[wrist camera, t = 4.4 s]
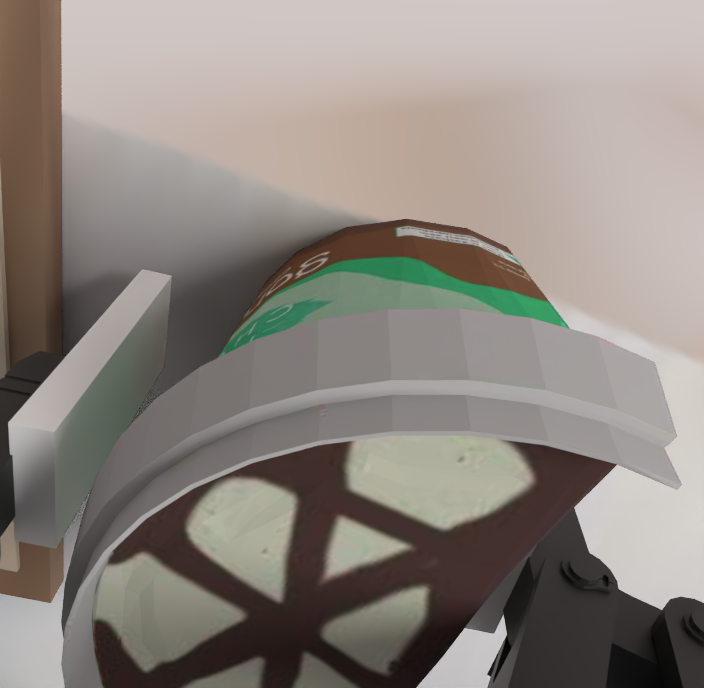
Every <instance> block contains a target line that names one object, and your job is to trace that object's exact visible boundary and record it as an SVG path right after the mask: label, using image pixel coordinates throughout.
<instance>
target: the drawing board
mask: <svg viewBox="0 0 704 688" xmlns="http://www.w3.org/2000/svg"><path fill="white" fill-rule="evenodd" d="M39 351H44V352H48V353H53V354H58V355H62V115H61V0H0V379H1V378H4V377H5V374H6V373H7V372H8V371H9V370H10V369H11V368H12V367H13V366H14V365H15V364H16V363H17V362H18V361H20V360H22V359H24V358H26V357H28V356H30V355H32V354H34V353H37V352H39ZM0 543H1V560H0V593H1V594H6V595H11V596H17V597H22V598H27V599H33V600H38V601H43V602H48V603H51V601H52V600H53V598H54V596H55V594H56V592H57V591H58V589H59V587H60V585H61V583H62V582H63V537H62V539H61V541H60V542H59V544H58V546H57V547H56V549H55V548H50V547H44V546H39V545H34V544H29V543H24V542H19V541H14V522H13V520H12V522H11V523H10V525H9V526H8V527H7V529H6V530H5V532H4V533H3V534H2V536H1V537H0Z"/></svg>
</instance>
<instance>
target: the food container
mask: <svg viewBox="0 0 704 688" xmlns="http://www.w3.org/2000/svg"><path fill="white" fill-rule="evenodd" d="M676 437H677V434H676V431H675V428H674V424H673V421H672V418H671V415H670V411H669V408H668V405H667V401H666V398H665V395H664V391H663V388H662V385H661V382H660V378H659V375H658V372H657V368H656V365H655V362H653V361H650V360H648V359H646V358H644V357H642V356H639V355H637V354H635V353H633V352H630V351H628V350H626V349H624V348H622V347H619V346H617V345H615V344H613V343H610V342H608V341H606V340H604V339H602V338H599V337H597V336H593V335H590V334H586V333H583V332H579V331H575V330H572V329H570V328H569V327H568V325H567V324H566V323H565V321H564V320H563V319H562V318H561V316H560V315H559V314H558V312H557V311H556V310H555V308H554V307H553V306H552V305H551V303H550V302H549V301H548V299H547V298H546V297H545V295H544V294H543V293H542V292H541V290H540V289H539V288H538V287H537V285H536V284H535V282H534V281H533V280H532V279H531V277H530V276H529V275H528V273H527V272H526V271H525V270H524V268H523V267H522V266H521V264H520V263H519V262H518V260H517V259H516V258H515V257H514V255H513V254H512V253H511V251H510V250H509V249H508V248H507V247H506V246H504V245H501V244H499V243H497V242H495V241H493V240H491V239H489V238H486V237H484V236H482V235H480V234H478V233H476V232H473V231H471V230H469V229H467V228H461V227H454V226H448V225H442V224H436V223H429V222H422V221H416V220H410V219H403V220H395V221H388V222H381V223H374V224H367V225H360V226H353V227H347V228H345V229H343V230H341V231H339V232H337V233H335V234H333V235H331V236H328V237H326V238H324V239H322V240H320V241H318V242H316V243H314V244H312V245H310V246H308V247H306V248H304V249H302V250H300V251H298V252H296V253H295V254H294V255H293V256H292V257H291V258H290V259H289V260H288V261H287V262H286V263H285V264H284V265H283V266H282V267H281V268H280V269H278V270H277V271H276V272H275V273H274V274H273V275H272V276H271V277H270V278H269V279H268V280H267V282H266V283H265V285H264V286H263V288H262V289H261V291H260V292H259V294H258V295H257V297H256V298H255V300H254V301H253V303H252V304H251V306H250V308H249V309H248V311H247V312H246V314H245V315H244V317H243V319H242V320H241V322H240V323H239V325H238V326H237V328H236V330H235V331H234V333H233V334H232V336H231V337H230V339H229V341H228V342H227V344H226V345H225V347H224V348H223V350H222V352H221V353H220V355H219V356H218V358H217V359H214V360H212V361H210V362H208V363H206V364H204V365H202V366H200V367H199V368H197V369H196V370H195V371H193V372H192V373H190V374H189V375H188V376H186V377H185V378H184V379H182V380H181V381H179V382H178V383H177V384H175V385H174V386H173V387H171V388H170V389H168V390H167V391H166V392H164V393H163V394H161V395H160V396H159V397H157V398H156V399H155V400H154V401H153V402H152V403H151V404H150V405H149V406H148V407H147V408H146V409H145V410H144V411H143V412H142V413H141V415H140V416H139V417H138V418H137V419H136V420H135V421H134V422H133V423H132V424H131V425H130V426H129V427H128V428H127V429H126V430H125V432H124V433H123V434H122V435H121V436H120V437H119V439H118V441H117V442H116V444H115V446H114V447H113V449H112V450H111V452H110V454H109V455H108V457H107V459H106V460H105V462H104V464H103V465H102V467H101V468H100V470H99V472H98V473H97V475H96V478H95V481H94V484H93V487H92V490H91V493H90V496H89V499H88V502H87V505H86V508H85V511H84V514H83V517H82V521H81V525H80V528H79V532H78V536H77V540H76V544H75V547H74V551H73V555H72V559H71V563H70V567H69V570H68V574H67V578H66V582H65V589H64V600H63V610H62V620H61V623H62V630H63V637H64V643H63V654H62V670H63V677H64V683H65V688H416V687H417V686H418V685H419V684H420V682H421V681H422V680H423V679H424V678H425V677H426V675H427V674H428V673H429V672H430V671H431V670H432V668H433V667H434V666H435V665H436V664H437V663H438V661H439V660H440V659H441V658H442V657H443V655H444V654H445V653H446V651H447V650H448V649H449V647H450V646H451V645H452V644H453V642H454V641H455V640H456V638H457V637H458V636H459V634H460V633H461V632H462V631H463V629H464V628H465V627H466V625H467V624H468V623H469V621H470V620H471V619H472V618H473V616H474V615H475V614H476V612H477V611H478V610H479V609H480V608H481V606H482V605H483V604H484V603H485V601H486V600H487V599H488V598H489V597H490V595H491V594H492V593H493V592H494V591H495V589H496V588H497V587H498V586H499V585H500V583H501V582H502V581H503V580H504V579H505V577H506V576H507V575H508V574H509V573H510V572H511V571H512V570H513V569H514V568H515V567H516V566H517V565H518V564H519V563H520V562H521V561H522V560H523V559H524V558H525V557H526V556H527V555H528V554H529V553H530V552H531V551H532V549H533V548H534V547H535V546H536V545H537V544H538V543H539V542H540V541H541V540H542V539H543V538H544V537H545V536H546V535H547V534H548V533H549V532H550V531H551V530H552V529H553V528H554V527H555V526H556V525H557V524H558V523H559V522H560V521H561V520H562V519H563V518H564V517H565V516H566V515H567V514H568V513H569V512H570V511H571V510H572V509H573V508H574V507H575V506H576V505H577V504H578V503H579V502H580V501H581V500H582V499H583V498H584V497H585V496H586V495H587V494H588V493H589V492H590V491H591V490H592V489H593V488H594V487H595V486H596V485H597V484H598V483H599V482H600V481H601V480H602V479H603V478H604V477H605V476H606V475H607V474H608V473H609V472H610V471H611V470H612V469H613V468H614V467H615V466H616V465H620V466H622V467H624V468H627V469H629V470H632V471H634V472H636V473H639V474H641V475H644V476H646V477H648V478H651V479H653V480H655V481H658V482H660V483H663V484H665V485H667V486H670V487H672V488H675V489H678V488H679V487H680V486H681V485H682V484H681V482H680V480H679V478H678V475H677V473H676V471H675V469H674V467H673V465H672V463H671V461H670V459H669V457H668V455H667V453H666V451H665V449H664V447H666V446H667V445H668V444H670V443H671V442H672V441H673V440H674V439H675V438H676Z"/></svg>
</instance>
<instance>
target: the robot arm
mask: <svg viewBox="0 0 704 688" xmlns="http://www.w3.org/2000/svg"><path fill="white" fill-rule="evenodd" d="M171 283H172V275H167V274H162V273H158V272H153V271H149V270H144V269H142V270H141V271H140V272H139V273H138V274H137V276H136V277H135V278H134V279H133V280H132V281H131V282H130V284H129V285H128V286H127V287H126V288H125V289H124V290H123V292H122V293H121V294H120V295H119V296H118V297H117V299H116V300H115V301H114V302H113V303H112V304H111V305H110V307H109V308H108V309H107V310H106V311H105V312H104V313H103V315H102V316H101V317H100V318H99V319H98V320H97V321H96V323H95V324H94V325H93V326H92V327H91V328H90V329H89V331H88V332H87V333H86V334H85V335H84V336H83V337H82V339H81V340H80V341H79V342H78V343H77V344H76V346H75V347H74V348H73V349H72V350H71V351H70V352H69V354H68V355H67V356H63V355H58V354H53V353H48V352H44V351H39V352H37V353H34V354H32V355H30V356H28V357H26V358H24V359H22V360H20V361H18V362H17V363H16V364H15V365H14V366H13V367H12V368H11V369H10V370H9V371H8V372H7V373H6V374H5V377H4V378H1V379H0V537H1V536H2V534H3V533H4V532H5V530H6V529H7V527H8V526H9V525H10V523H11V522H12V520H13V522H14V541H19V542H24V543H29V544H34V545H39V546H44V547H50V548H55V549H56V547H57V546H58V544H59V542H60V541H61V539H62V537H63V536H64V534H65V532H66V531H67V529H68V527H69V526H70V524H71V522H72V521H73V519H74V517H75V516H76V514H77V512H78V511H79V509H80V507H81V505H82V504H83V502H84V500H85V499H86V497H87V495H88V494H89V492H90V490H91V489H92V487H93V484H94V481H95V478H96V475H97V473H98V472H99V470H100V468H101V467H102V465H103V464H104V462H105V460H106V459H107V457H108V455H109V454H110V452H111V450H112V449H113V447H114V446H115V444H116V442H117V441H118V439H119V437H120V436H121V435H122V434H123V433H124V432H125V430H126V429H127V428H128V427H129V425H130V423H131V422H132V420H133V418H134V417H135V415H136V413H137V412H138V410H139V408H140V407H141V405H142V403H143V402H144V400H145V398H146V397H147V395H148V393H149V392H150V390H151V388H152V386H153V385H154V383H155V381H156V380H157V378H158V376H159V375H160V373H161V371H162V370H163V368H164V366H165V354H166V342H167V330H168V319H169V307H170V295H171ZM0 560H1V543H0ZM503 614H504V619H505V625H506V631H507V636H506V638H505V640H504V642H503V644H502V646H501V648H500V650H499V652H498V654H497V656H496V658H495V660H494V662H493V664H492V666H491V668H490V670H489V672H488V674H487V675H489V676H491V678H490V681H489V685H488V688H704V603H702V602H700V601H698V600H695V599H691V598H685V597H678V598H674V599H670V600H669V602H668V603H667V604H666V606H665V607H664V608H663V610H660V609H658V608H656V607H654V606H652V605H649V604H647V603H645V602H643V601H641V600H638V599H636V598H634V597H632V596H630V595H628V594H626V593H624V592H623V591H621V590H619V589H618V584H617V580H616V579H615V577H614V575H613V574H612V572H611V570H610V569H609V568H608V567H607V566H606V565H605V564H604V563H603V562H602V561H601V560H600V559H598V558H596V557H595V556H593V555H592V554H590V553H589V551H588V548H587V545H586V542H585V539H584V536H583V533H582V530H581V527H580V524H579V521H578V518H577V515H576V512H575V509H574V508H573V509H572V510H571V511H570V512H569V513H568V514H567V515H566V516H565V517H564V518H563V519H562V520H561V521H560V522H559V523H558V524H557V525H556V526H555V527H554V528H553V529H552V530H551V531H550V532H549V533H548V534H547V535H546V536H545V537H544V538H543V539H542V540H541V541H540V542H539V543H538V544H537V545H536V546H535V547H534V548H533V549H532V551H531V552H530V553H529V554H528V555H527V556H526V557H525V558H524V559H523V560H522V561H521V562H520V563H519V564H518V565H517V566H516V567H515V568H514V569H513V570H512V571H511V572H510V573H509V574H508V575H507V576H506V577H505V579H504V580H503V581H502V582H501V583H500V585H499V586H498V587H497V588H496V589H495V591H494V592H493V593H492V594H491V595H490V597H489V598H488V599H487V600H486V601H485V603H484V604H483V605H482V606H481V608H480V609H479V610H478V611H477V612H476V614H475V615H474V616H473V618H472V619H471V620H470V621H469V623H468V624H467V625H466V627H465V628H468V629H473V630H478V631H483V632H488V633H494V632H495V630H496V628H497V626H498V624H499V622H500V620H501V618H502V616H503Z"/></svg>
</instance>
